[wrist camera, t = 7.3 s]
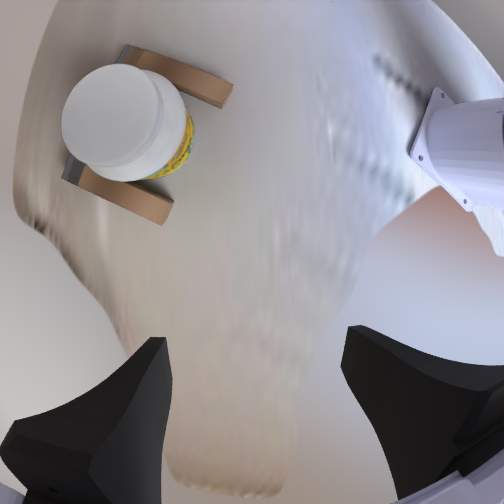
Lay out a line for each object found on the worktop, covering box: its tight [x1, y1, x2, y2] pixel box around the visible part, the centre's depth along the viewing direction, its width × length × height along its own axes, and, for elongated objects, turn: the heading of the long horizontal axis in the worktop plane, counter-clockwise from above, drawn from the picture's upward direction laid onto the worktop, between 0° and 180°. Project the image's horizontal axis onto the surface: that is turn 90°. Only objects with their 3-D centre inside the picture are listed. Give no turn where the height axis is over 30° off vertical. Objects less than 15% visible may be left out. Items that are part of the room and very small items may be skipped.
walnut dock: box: [61, 45, 233, 226], centre depth 17 cm, size 8×10×2 cm
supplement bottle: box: [61, 64, 195, 182], centre depth 13 cm, size 5×5×10 cm
